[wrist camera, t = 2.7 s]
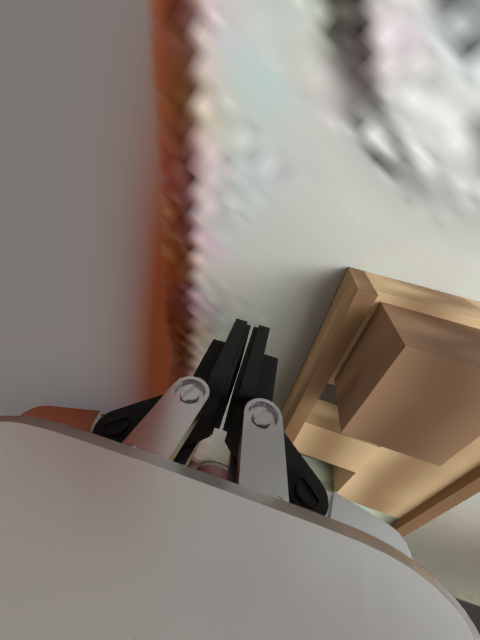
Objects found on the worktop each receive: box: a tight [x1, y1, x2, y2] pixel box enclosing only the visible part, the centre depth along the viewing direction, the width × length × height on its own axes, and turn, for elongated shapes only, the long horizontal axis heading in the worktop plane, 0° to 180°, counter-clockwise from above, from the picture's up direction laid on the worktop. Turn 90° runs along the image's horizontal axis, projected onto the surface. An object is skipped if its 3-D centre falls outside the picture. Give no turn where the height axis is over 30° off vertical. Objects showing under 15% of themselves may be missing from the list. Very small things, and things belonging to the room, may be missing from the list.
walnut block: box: [334, 301, 480, 466], centre depth 12 cm, size 5×6×4 cm
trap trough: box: [281, 267, 480, 537], centre depth 20 cm, size 14×28×6 cm, turn 169°
